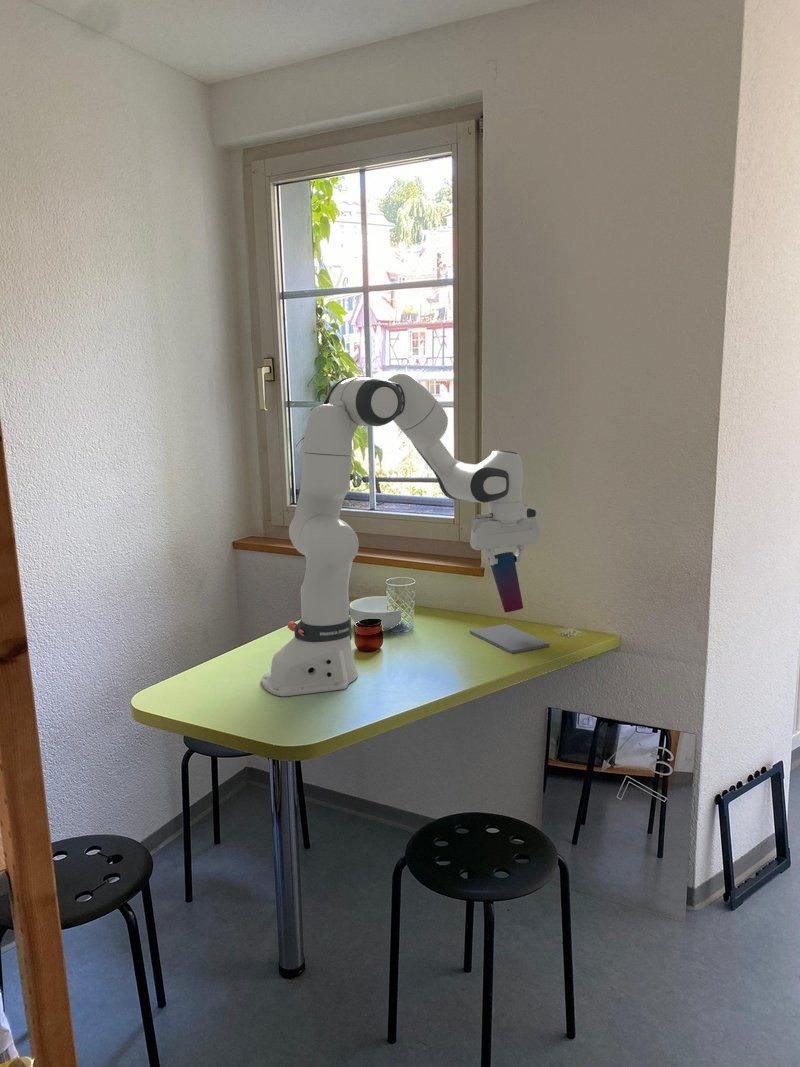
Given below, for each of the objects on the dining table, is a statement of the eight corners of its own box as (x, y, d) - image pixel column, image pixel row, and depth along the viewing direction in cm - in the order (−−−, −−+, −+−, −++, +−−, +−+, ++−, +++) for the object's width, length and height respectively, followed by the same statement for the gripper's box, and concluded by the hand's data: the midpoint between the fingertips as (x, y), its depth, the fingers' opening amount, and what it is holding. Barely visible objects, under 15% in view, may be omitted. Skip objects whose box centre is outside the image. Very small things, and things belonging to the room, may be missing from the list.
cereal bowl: (349, 637, 220) (348, 612, 218) (350, 620, 236) (349, 596, 235) (410, 635, 220) (410, 610, 219) (408, 618, 237) (407, 595, 235)
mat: (511, 653, 203) (511, 650, 203) (469, 633, 221) (469, 630, 221) (549, 646, 209) (549, 643, 208) (505, 626, 226) (505, 624, 226)
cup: (501, 614, 214) (488, 560, 217) (526, 608, 214) (513, 554, 217) (501, 611, 208) (487, 556, 211) (526, 606, 207) (513, 550, 210)
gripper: (478, 516, 202) (478, 570, 205) (544, 510, 211) (543, 561, 214) (465, 513, 208) (465, 565, 210) (529, 507, 217) (529, 557, 219)
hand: (505, 563), depth 212 cm, fingers closed on cup, 6 cm apart
